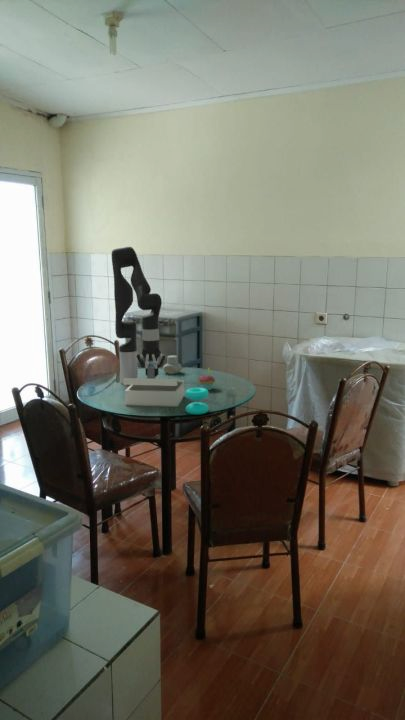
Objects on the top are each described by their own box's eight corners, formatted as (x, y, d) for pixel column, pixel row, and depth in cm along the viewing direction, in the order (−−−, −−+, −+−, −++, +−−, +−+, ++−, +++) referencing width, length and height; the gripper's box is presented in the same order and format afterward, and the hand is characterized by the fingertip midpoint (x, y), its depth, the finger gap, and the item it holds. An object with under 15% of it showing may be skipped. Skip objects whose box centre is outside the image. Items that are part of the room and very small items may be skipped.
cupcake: (218, 388, 259) (218, 365, 257) (207, 392, 253) (206, 368, 251) (206, 386, 265) (205, 363, 263) (194, 389, 259) (194, 366, 256)
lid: (134, 385, 248) (134, 369, 249) (184, 386, 245) (184, 370, 245) (123, 384, 230) (123, 366, 230) (176, 385, 226) (177, 367, 227)
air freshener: (184, 372, 296) (183, 355, 294) (178, 375, 289) (178, 358, 287) (167, 371, 300) (166, 354, 298) (160, 374, 293) (160, 357, 291)
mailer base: (135, 395, 250) (134, 381, 248) (184, 396, 246) (183, 382, 245) (125, 405, 233) (124, 390, 232) (177, 406, 230) (177, 391, 228)
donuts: (186, 393, 215) (184, 387, 224) (186, 416, 217) (184, 409, 226) (210, 392, 216) (206, 386, 226) (210, 414, 218) (207, 408, 228)
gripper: (168, 337, 232) (169, 374, 235) (137, 337, 233) (139, 374, 237) (164, 340, 224) (165, 378, 228) (133, 339, 226) (134, 377, 230)
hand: (152, 376), depth 232 cm, fingers closed on lid, 3 cm apart
